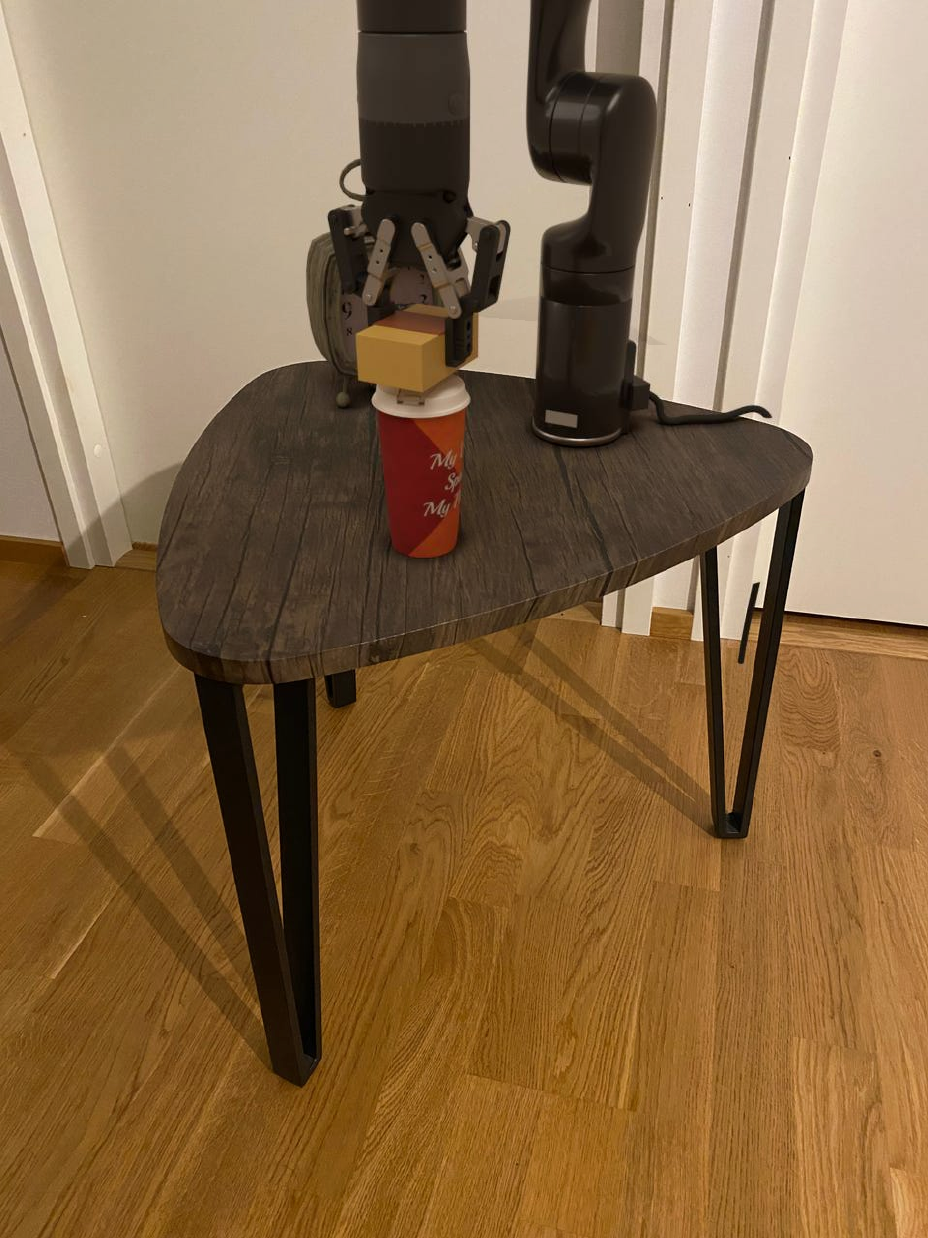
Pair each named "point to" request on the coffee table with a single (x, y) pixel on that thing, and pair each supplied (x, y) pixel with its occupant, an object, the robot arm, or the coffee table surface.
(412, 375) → the tea packet
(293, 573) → the coffee table surface
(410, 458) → the paper cup
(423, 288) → the tabletop clock
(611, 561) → the coffee table surface
